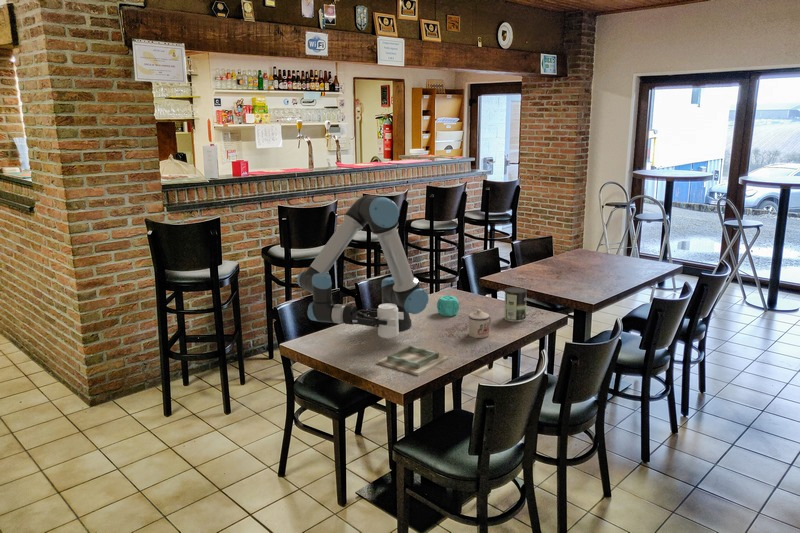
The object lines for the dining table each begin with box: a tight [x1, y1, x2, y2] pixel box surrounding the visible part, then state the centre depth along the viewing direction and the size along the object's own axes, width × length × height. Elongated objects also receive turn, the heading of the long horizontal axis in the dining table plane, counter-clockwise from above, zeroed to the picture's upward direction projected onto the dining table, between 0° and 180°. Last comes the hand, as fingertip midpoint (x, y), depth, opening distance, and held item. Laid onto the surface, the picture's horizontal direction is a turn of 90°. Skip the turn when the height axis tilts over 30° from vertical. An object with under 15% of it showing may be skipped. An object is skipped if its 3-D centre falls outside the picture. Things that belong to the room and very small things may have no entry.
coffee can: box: [503, 286, 528, 323], centre depth 288 cm, size 10×10×14 cm
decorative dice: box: [436, 295, 460, 317], centre depth 297 cm, size 8×8×8 cm
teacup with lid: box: [468, 308, 492, 339], centre depth 268 cm, size 12×9×12 cm
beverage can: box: [376, 303, 400, 339], centre depth 237 cm, size 8×8×12 cm
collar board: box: [377, 344, 449, 377], centre depth 240 cm, size 20×20×3 cm
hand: (399, 319), depth 235 cm, fingers closed on beverage can, 8 cm apart
